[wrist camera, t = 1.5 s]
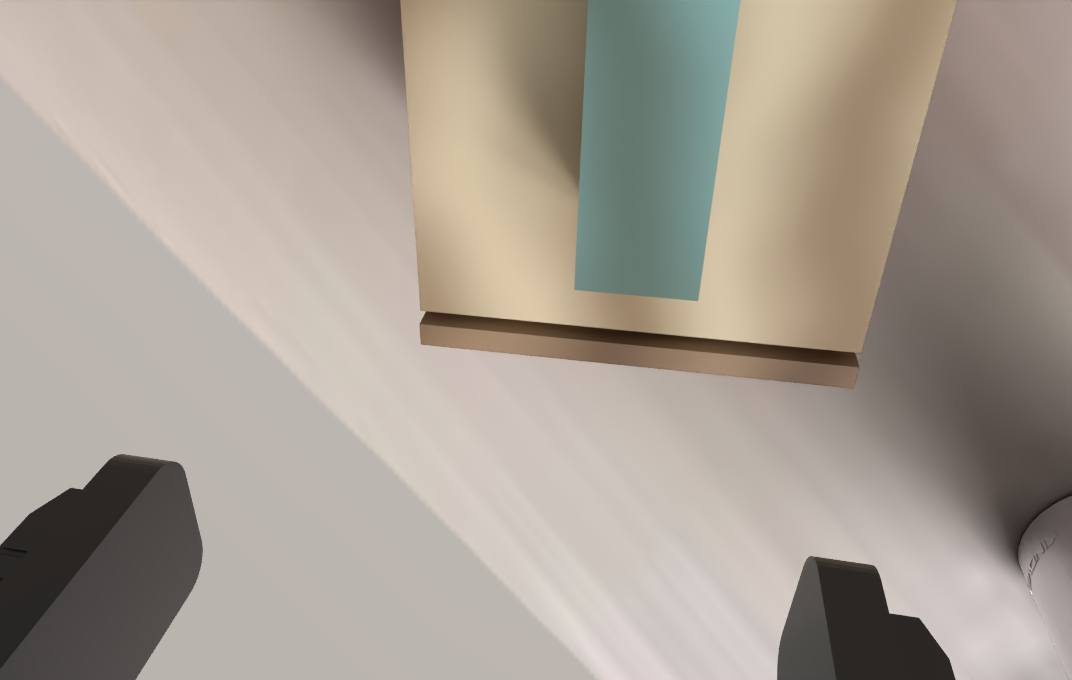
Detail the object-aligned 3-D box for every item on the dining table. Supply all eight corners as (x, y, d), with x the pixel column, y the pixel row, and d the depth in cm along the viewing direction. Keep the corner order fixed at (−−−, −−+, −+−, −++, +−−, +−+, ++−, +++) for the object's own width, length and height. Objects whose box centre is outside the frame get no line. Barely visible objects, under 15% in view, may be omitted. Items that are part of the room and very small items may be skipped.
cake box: (904, -303, 29) (1065, -387, 16) (801, 201, 39) (853, 388, 26) (502, -306, 30) (372, -383, 18) (504, 179, 40) (420, 344, 28)
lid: (1021, -302, 18) (1153, -345, 13) (854, 333, 27) (893, 458, 22) (395, -305, 20) (291, -345, 15) (430, 293, 29) (372, 400, 23)
